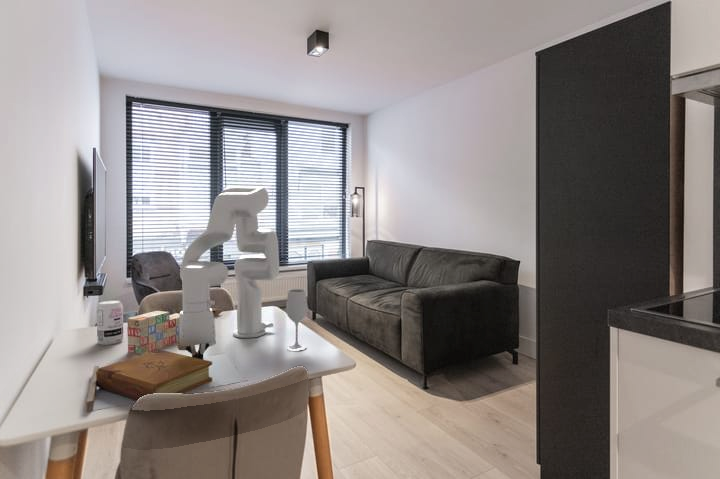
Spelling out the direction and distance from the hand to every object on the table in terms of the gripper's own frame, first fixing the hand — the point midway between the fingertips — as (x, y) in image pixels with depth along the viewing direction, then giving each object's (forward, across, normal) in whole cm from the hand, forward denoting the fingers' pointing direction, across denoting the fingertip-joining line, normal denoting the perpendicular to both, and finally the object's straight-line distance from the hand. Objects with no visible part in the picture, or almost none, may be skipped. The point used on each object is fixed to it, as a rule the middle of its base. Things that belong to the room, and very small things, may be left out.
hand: (197, 366), depth 120 cm
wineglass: (+3, -34, -6) cm, 35 cm away
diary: (+2, +12, +4) cm, 12 cm away
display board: (+2, +8, 0) cm, 8 cm away
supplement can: (+3, +23, -47) cm, 52 cm away
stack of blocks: (+3, +7, -35) cm, 35 cm away
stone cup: (+4, -14, -72) cm, 74 cm away
